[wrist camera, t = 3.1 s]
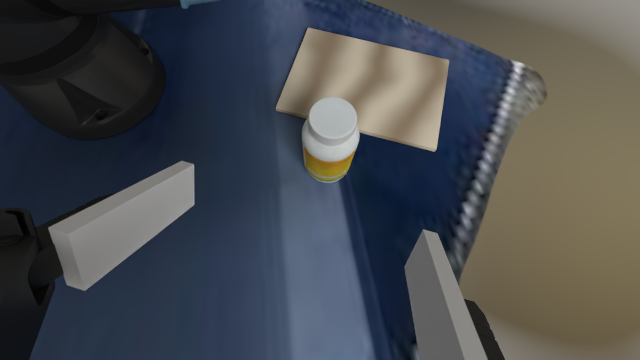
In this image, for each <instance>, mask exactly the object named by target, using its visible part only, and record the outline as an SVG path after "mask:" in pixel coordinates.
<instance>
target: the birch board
mask: <svg viewBox="0 0 640 360" xmlns="http://www.w3.org/2000/svg"><path fill="white" fill-rule="evenodd" d="M448 65H449V60H447V59H443V58H438V57H434V56H430V55H425V54H421V53H417V52H412V51H408V50H403V49H399V48H395V47H390V46H386V45H382V44H377V43H373V42H369V41H364V40H360V39H356V38H351V37H347V36H343V35H338V34H334V33H330V32H325V31H321V30H317V29H312V28H308V29H307V32H306V34H305V37H304V39H303V42H302V44H301V47H300V49H299V51H298V54H297V56H296V59H295V61H294V64H293V66H292V69H291V71H290V74H289V76H288V79H287V81H286V84H285V86H284V89H283V91H282V93H281V96H280V98H279V101H278V103H277V106H276V111H279V112H282V113H286V114H290V115H294V116H298V117H302V118H306V119H307V118H308V117H309V112H310V109H311V108H312V106H313V105H314V104H315V103H316V102H317V101H319V100H321V99H323V98H326V97H338V98H342V99H344V100H346V101H347V102H349V103H350V104H351V105H352V106H353V107H354V109H355V111H356V114H357V126H358V129H359V132H360V133H364V134H368V135H372V136H376V137H380V138H383V139H387V140H391V141H395V142H399V143H403V144H407V145H411V146H415V147H418V148H422V149H426V150H430V151H435V150H436V149H437V142H438V135H439V128H440V121H441V114H442V107H443V100H444V93H445V86H446V79H447V72H448Z"/></svg>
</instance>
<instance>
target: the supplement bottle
mask: <svg viewBox="0 0 640 360" xmlns="http://www.w3.org/2000/svg"><path fill="white" fill-rule="evenodd" d="M358 142H359V129H358V126H357V114H356V111H355V109H354V107H353V106H352V105H351V104H350V103H349V102H347V101H346V100H344V99H342V98H338V97H326V98H323V99H321V100H319V101H317V102H316V103H315V104H314V105H313V106H312V108H311V109H310V112H309V117H308V118H307V120H306V121H305V123H304V125H303V128H302V145H303V157H304V165H305V168H306V170H307V172H308V173H309V175H311V176H312V177H313V178H314V179H316V180H318V181H320V182H325V183H330V182H335V181H338V180H340V179H341V178H342V177H343V176H344V175H345V174H346V173H347V171H348V169H349V167H350V164H351V161H352V159H353V156H354V153H355V151H356V148H357V145H358Z"/></svg>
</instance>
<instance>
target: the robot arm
mask: <svg viewBox="0 0 640 360" xmlns="http://www.w3.org/2000/svg"><path fill="white" fill-rule="evenodd" d="M214 1H219V0H0V85H1V86H2V87H3V88H4V89H5V90H6V91H7V92H8V93H9V94H10V95H11V96H12V97H13V98H14V99H15V100H16V101H17V102H18V103H19V104H20V105H21V106H22V107H23V108H24V109H25V110H26V111H27V112H28V113H29V114H30V115H31V116H32V117H33V118H34V119H35V120H37V121H38V122H40V123H41V124H43V125H45V126H46V127H48V128H50V129H52V130H54V131H56V132H58V133H60V134H61V135H64V136H66V137H69V138H74V139H81V140H94V139H101V138H106V137H110V136H113V135H116V134H119V133H121V132H124V131H126V130H128V129H130V128H131V127H133V126H135V125H136V124H138V123H139V122H140V121H142V120H143V119H144V118H145V117H146V116H147V115H148V114H149V113H150V112H151V111H152V110H153V109H154V108H155V106H156V105H157V103H158V102H159V100H160V98H161V96H162V94H163V91H164V88H165V81H166V76H165V70H164V67H163V64H162V62H161V61H160V59H159V58H158V57H157V55H156V54H155V53H154V51H153V50H152V49H151V47H150V46H149V45H148V44H147V43H146V42H145V41H144V40H143V39H142V38H140V37H139V36H138V35H136V34H135V33H134V32H132V31H131V30H130V29H128V28H127V27H126V26H124V25H123V24H122V23H120V22H119V21H118V20H116V19H115V18H114V17H112V16H111V15H110V14H108V13H110V12H121V11H131V10H142V9H152V8H162V7H173V6H181V7H182V9H187V8H188V7H189V5H194V4H201V3H207V2H214ZM193 205H194V164H191V163H187V162H184V161H180V162H178V163H176V164H174V165H172V166H170V167H168V168H166V169H164V170H162V171H160V172H158V173H156V174H154V175H152V176H150V177H148V178H146V179H144V180H142V181H140V182H138V183H136V184H134V185H132V186H130V187H128V188H126V189H124V190H122V191H120V192H118V193H116V194H110V195H106V196H103V197H99V198H96V199H94V200H92V201H90V202H88V203H86V204H85V205H82V206H80V207H78V208H76V209H75V210H71V211H69V212H67V213H65V214H63V215H61V216H59V217H57V218H55V219H53V220H51V221H49V222H47V223H45V224H42V225H40V226H38V227H36V228H35V226H34V223H33V220H32V217H31V214H30V212H28V211H27V210H25V209H21V208H5V209H0V360H29V358H30V356H31V353H32V350H33V347H34V344H35V342H36V339H37V336H38V333H39V330H40V328H41V325H42V322H43V319H44V317H45V314H46V311H47V308H48V305H49V303H50V300H51V297H52V294H53V291H54V289H55V282H54V280H55V279H56V278H58V277H59V276H61V275H62V274H63V275H64V278H65V281H66V284H67V285H69V286H72V287H74V288H77V289H80V290H83V291H85V290H87V289H88V288H89V287H90V286H92V285H93V284H94V283H95V282H97V281H98V280H99V279H101V278H102V277H103V276H104V275H106V274H107V273H108V272H109V271H111V270H112V269H113V268H115V267H116V266H117V265H118V264H120V263H121V262H122V261H123V260H125V259H126V258H127V257H129V256H130V255H131V254H132V253H134V252H135V251H136V250H137V249H139V248H140V247H141V246H143V245H144V244H145V243H146V242H148V241H149V240H150V239H151V238H153V237H154V236H155V235H157V234H158V233H159V232H160V231H162V230H163V229H164V228H165V227H167V226H168V225H169V224H171V223H172V222H173V221H174V220H176V219H177V218H178V217H179V216H181V215H182V214H183V213H185V212H186V211H187V210H188V209H190V208H191V207H192V206H193ZM405 273H406V279H407V285H408V291H409V297H410V302H411V308H412V314H413V320H414V326H415V332H416V338H417V344H418V350H419V356H420V360H505V359H504V356H503V354H502V352H501V350H500V348H499V345H498V343H497V341H496V340H495V337H494V335H493V332H492V330H491V329H490V326H489V324H488V322H487V319H486V317H485V315H484V313H483V312H482V311H481V310H480V309H479V307H478V306H477V305H476V303H475V302H473V301H469V300H466V299H463V296H462V294H461V291H460V289H459V286H458V284H457V281H456V279H455V276H454V274H453V271H452V269H451V266H450V264H449V261H448V259H447V256H446V254H445V251H444V249H443V246H442V244H441V241H440V239H439V236H438V234H437V233H434V232H430V231H427V230H423V231H422V233H421V235H420V237H419V239H418V241H417V243H416V245H415V247H414V249H413V251H412V253H411V255H410V257H409V259H408V261H407V263H406V265H405Z"/></svg>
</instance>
